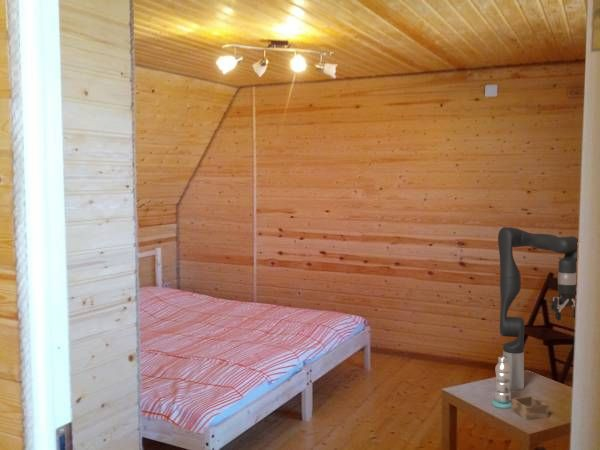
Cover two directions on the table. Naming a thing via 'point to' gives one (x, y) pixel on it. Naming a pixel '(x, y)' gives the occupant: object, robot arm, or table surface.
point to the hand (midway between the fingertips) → (567, 319)
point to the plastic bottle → (503, 380)
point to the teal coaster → (501, 404)
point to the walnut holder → (529, 408)
